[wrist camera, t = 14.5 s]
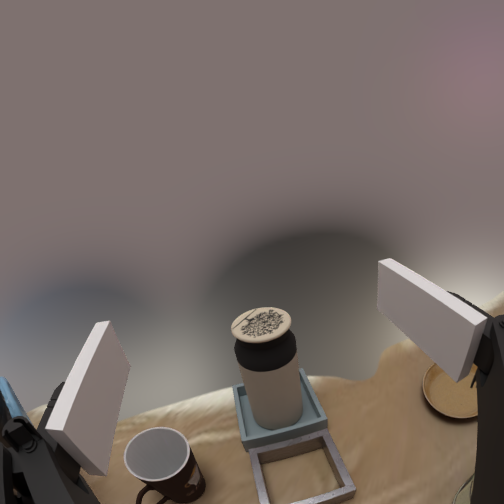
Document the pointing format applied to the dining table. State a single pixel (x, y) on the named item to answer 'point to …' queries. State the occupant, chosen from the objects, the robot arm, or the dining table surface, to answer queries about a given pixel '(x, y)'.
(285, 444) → the socket collar
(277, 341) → the travel mug
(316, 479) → the dining table surface
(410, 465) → the dining table surface
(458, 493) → the coffee can
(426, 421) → the dining table surface
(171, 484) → the coffee mug
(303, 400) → the tray
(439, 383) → the plant saucer
